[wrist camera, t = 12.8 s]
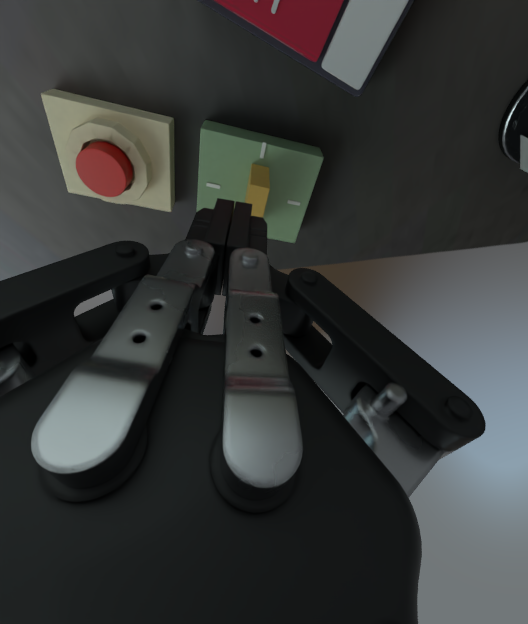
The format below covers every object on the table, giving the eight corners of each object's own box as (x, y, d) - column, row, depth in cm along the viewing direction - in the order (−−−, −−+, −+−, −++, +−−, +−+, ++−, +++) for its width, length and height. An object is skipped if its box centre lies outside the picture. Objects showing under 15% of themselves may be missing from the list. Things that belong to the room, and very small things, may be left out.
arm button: (130, 147, 27) (122, 154, 26) (135, 192, 30) (128, 201, 29) (79, 135, 26) (69, 143, 25) (90, 183, 29) (81, 192, 28)
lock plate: (320, 146, 30) (324, 157, 28) (292, 231, 37) (294, 244, 35) (205, 118, 28) (200, 127, 26) (199, 213, 36) (195, 226, 33)
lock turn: (251, 163, 29) (249, 185, 25) (269, 167, 29) (270, 189, 25) (241, 217, 33) (238, 243, 29) (256, 220, 33) (256, 246, 29)
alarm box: (174, 117, 28) (164, 129, 26) (175, 203, 35) (167, 220, 32) (52, 88, 27) (28, 97, 24) (77, 184, 33) (60, 199, 30)
